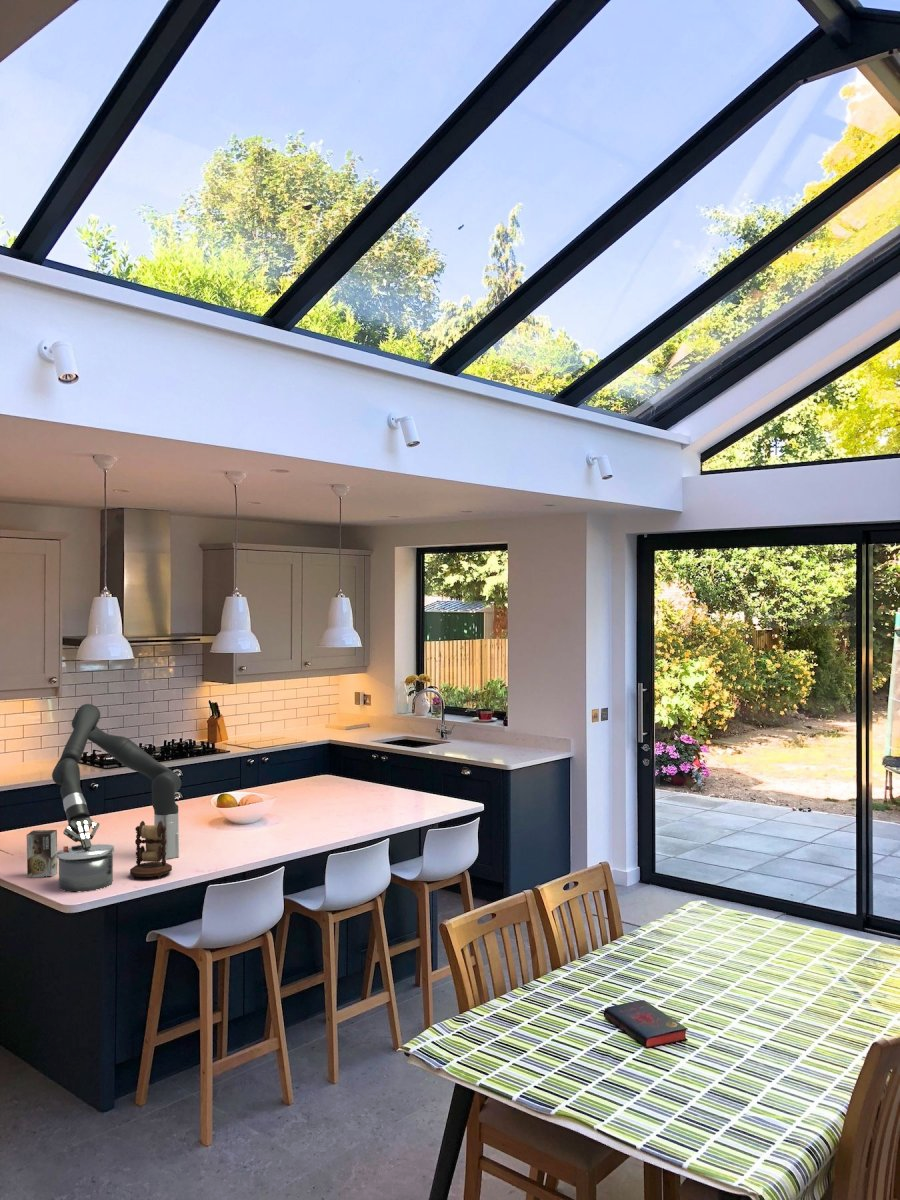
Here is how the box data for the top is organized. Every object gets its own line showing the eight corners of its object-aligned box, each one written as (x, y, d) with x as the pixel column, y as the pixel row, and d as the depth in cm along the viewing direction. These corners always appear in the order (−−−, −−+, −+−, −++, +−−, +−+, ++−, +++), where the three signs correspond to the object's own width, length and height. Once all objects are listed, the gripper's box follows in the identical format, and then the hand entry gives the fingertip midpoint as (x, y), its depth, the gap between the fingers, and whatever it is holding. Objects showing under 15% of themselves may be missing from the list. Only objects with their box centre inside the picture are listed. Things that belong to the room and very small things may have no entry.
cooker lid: (49, 855, 344) (49, 846, 344) (102, 846, 356) (102, 838, 356) (68, 862, 329) (67, 853, 329) (122, 852, 341) (122, 844, 342)
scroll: (177, 869, 361) (176, 816, 361) (164, 880, 346) (163, 825, 346) (138, 869, 362) (138, 816, 362) (123, 880, 347) (123, 825, 347)
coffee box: (58, 872, 359) (57, 829, 359) (51, 877, 352) (51, 833, 352) (33, 873, 358) (33, 829, 358) (26, 877, 352) (26, 833, 352)
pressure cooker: (50, 883, 344) (50, 855, 345) (100, 873, 356) (100, 847, 356) (69, 895, 330) (69, 866, 330) (120, 885, 341) (120, 857, 341)
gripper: (91, 811, 356) (103, 851, 347) (54, 817, 347) (66, 858, 338) (96, 800, 351) (108, 840, 342) (59, 805, 343) (71, 847, 334)
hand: (87, 849), depth 340 cm, fingers closed
